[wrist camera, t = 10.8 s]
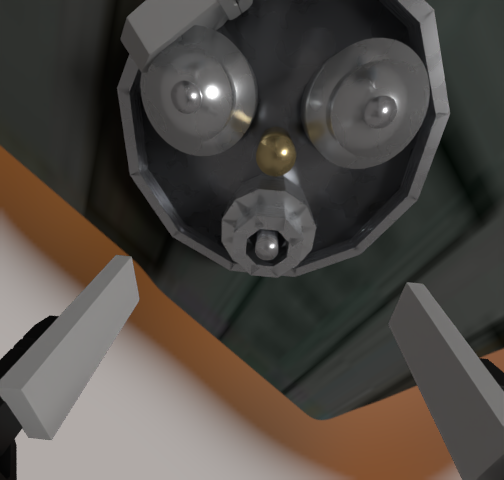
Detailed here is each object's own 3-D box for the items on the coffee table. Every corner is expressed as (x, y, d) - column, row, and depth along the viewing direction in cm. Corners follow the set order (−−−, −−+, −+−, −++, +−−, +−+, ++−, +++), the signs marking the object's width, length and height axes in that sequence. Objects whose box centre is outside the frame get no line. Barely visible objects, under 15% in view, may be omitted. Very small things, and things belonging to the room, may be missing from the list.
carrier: (120, -57, 17) (14, -160, 10) (475, -36, 17) (624, -131, 10) (155, 245, 28) (115, 297, 21) (374, 266, 27) (409, 326, 20)
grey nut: (228, 244, 25) (216, 284, 20) (230, 171, 22) (216, 195, 17) (302, 251, 25) (309, 293, 20) (315, 178, 22) (328, 205, 17)
